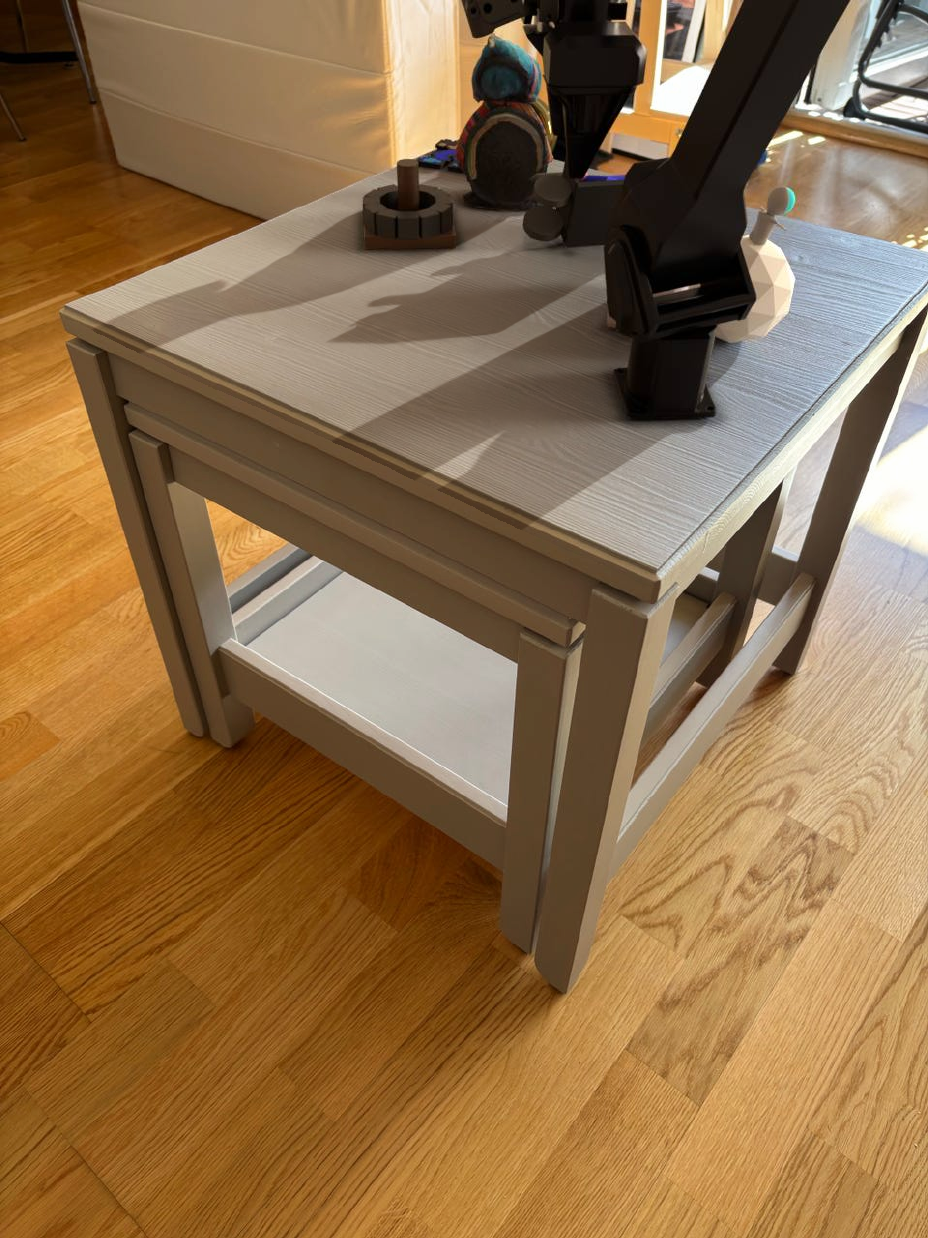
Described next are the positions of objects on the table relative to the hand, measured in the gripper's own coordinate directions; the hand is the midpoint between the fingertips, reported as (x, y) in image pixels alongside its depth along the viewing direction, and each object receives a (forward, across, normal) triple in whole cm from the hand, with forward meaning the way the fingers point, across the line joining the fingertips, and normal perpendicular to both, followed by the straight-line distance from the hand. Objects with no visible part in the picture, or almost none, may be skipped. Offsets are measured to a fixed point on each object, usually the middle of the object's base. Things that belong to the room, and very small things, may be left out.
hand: (567, 155), depth 73 cm
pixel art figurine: (+12, -32, -8) cm, 35 cm away
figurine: (+12, -24, -2) cm, 27 cm away
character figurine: (+12, -13, +6) cm, 19 cm away
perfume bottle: (+12, +6, +12) cm, 18 cm away
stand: (+12, -16, -12) cm, 23 cm away
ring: (+11, -15, -12) cm, 22 cm away
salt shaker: (+7, -28, -1) cm, 29 cm away
